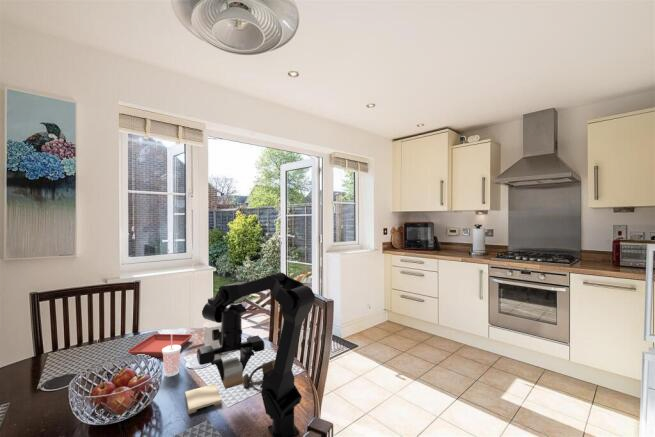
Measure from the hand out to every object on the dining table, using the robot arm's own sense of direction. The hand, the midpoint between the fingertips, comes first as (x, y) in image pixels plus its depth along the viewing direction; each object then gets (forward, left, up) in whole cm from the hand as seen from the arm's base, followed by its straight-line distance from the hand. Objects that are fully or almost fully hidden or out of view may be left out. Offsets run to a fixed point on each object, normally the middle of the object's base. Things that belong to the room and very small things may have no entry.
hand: (231, 377), depth 91 cm
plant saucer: (+54, +16, -9) cm, 57 cm away
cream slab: (+7, +7, -8) cm, 13 cm away
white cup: (+45, -3, -9) cm, 46 cm away
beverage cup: (+30, +14, -9) cm, 34 cm away
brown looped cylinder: (+8, -12, -9) cm, 17 cm away
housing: (0, 0, -1) cm, 1 cm away
